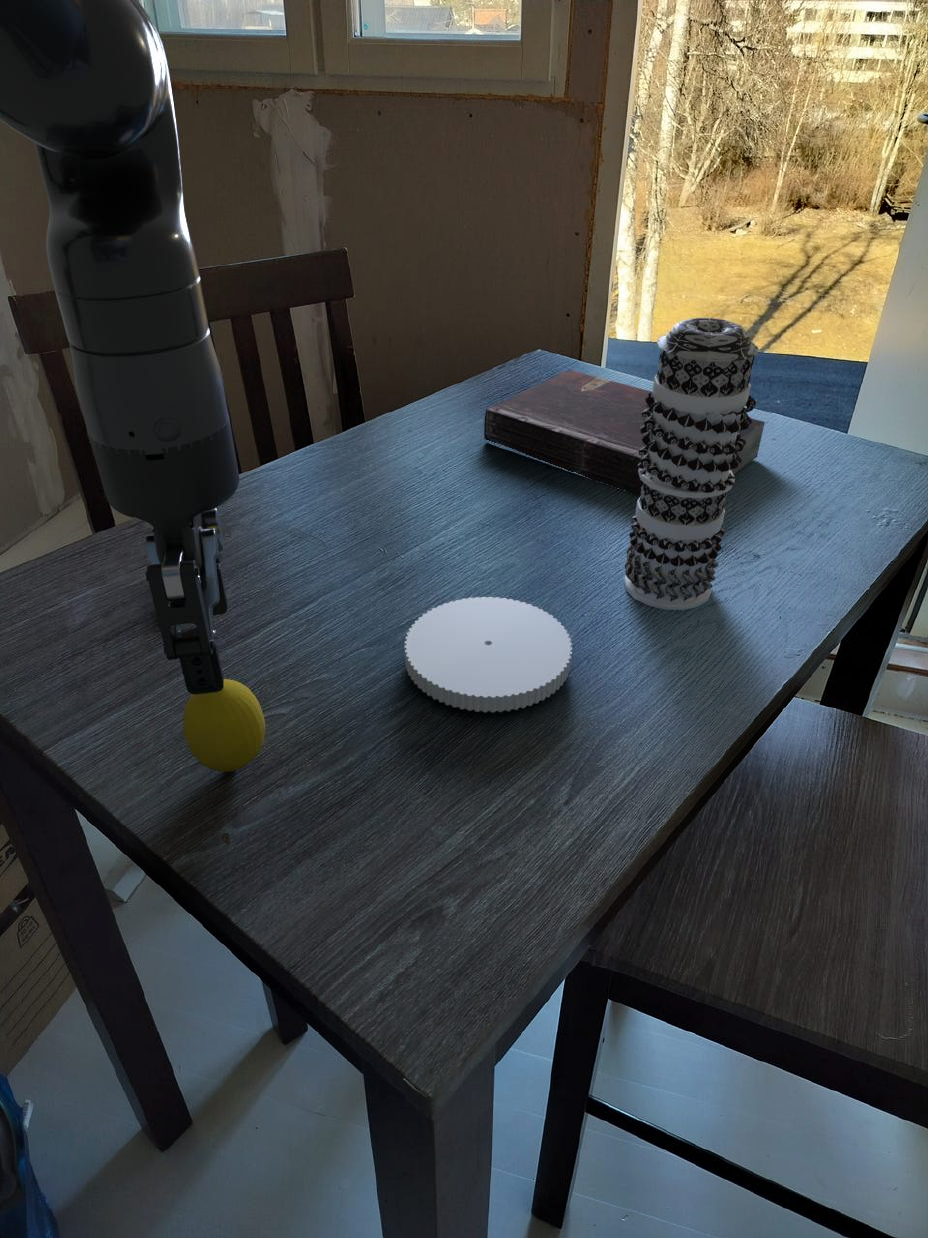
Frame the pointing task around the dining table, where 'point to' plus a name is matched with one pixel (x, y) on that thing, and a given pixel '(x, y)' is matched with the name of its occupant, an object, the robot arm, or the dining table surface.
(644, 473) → the decorative candle
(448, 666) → the white gear wheel
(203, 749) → the lemon
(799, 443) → the dining table surface
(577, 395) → the hardback book
